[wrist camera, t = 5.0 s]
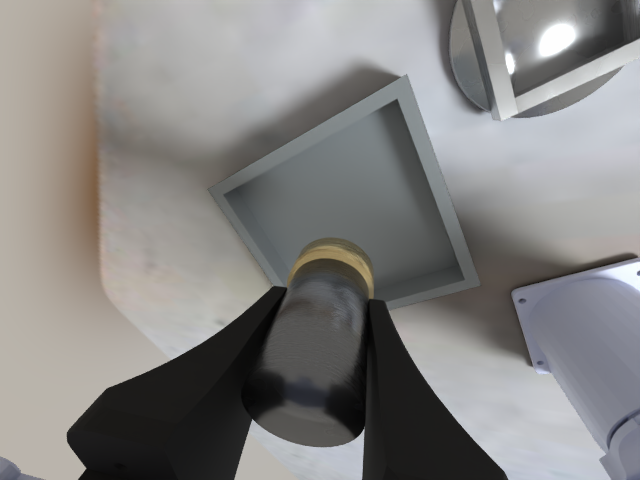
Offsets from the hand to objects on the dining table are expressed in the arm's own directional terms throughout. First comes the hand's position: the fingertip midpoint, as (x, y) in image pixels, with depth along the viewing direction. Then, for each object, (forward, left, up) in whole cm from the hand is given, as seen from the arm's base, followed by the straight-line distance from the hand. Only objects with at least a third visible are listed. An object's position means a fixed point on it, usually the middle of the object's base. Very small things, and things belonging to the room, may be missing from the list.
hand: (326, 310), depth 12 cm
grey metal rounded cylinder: (0, 0, -2) cm, 2 cm away
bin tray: (0, 0, -10) cm, 10 cm away
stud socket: (+6, -14, -10) cm, 18 cm away
